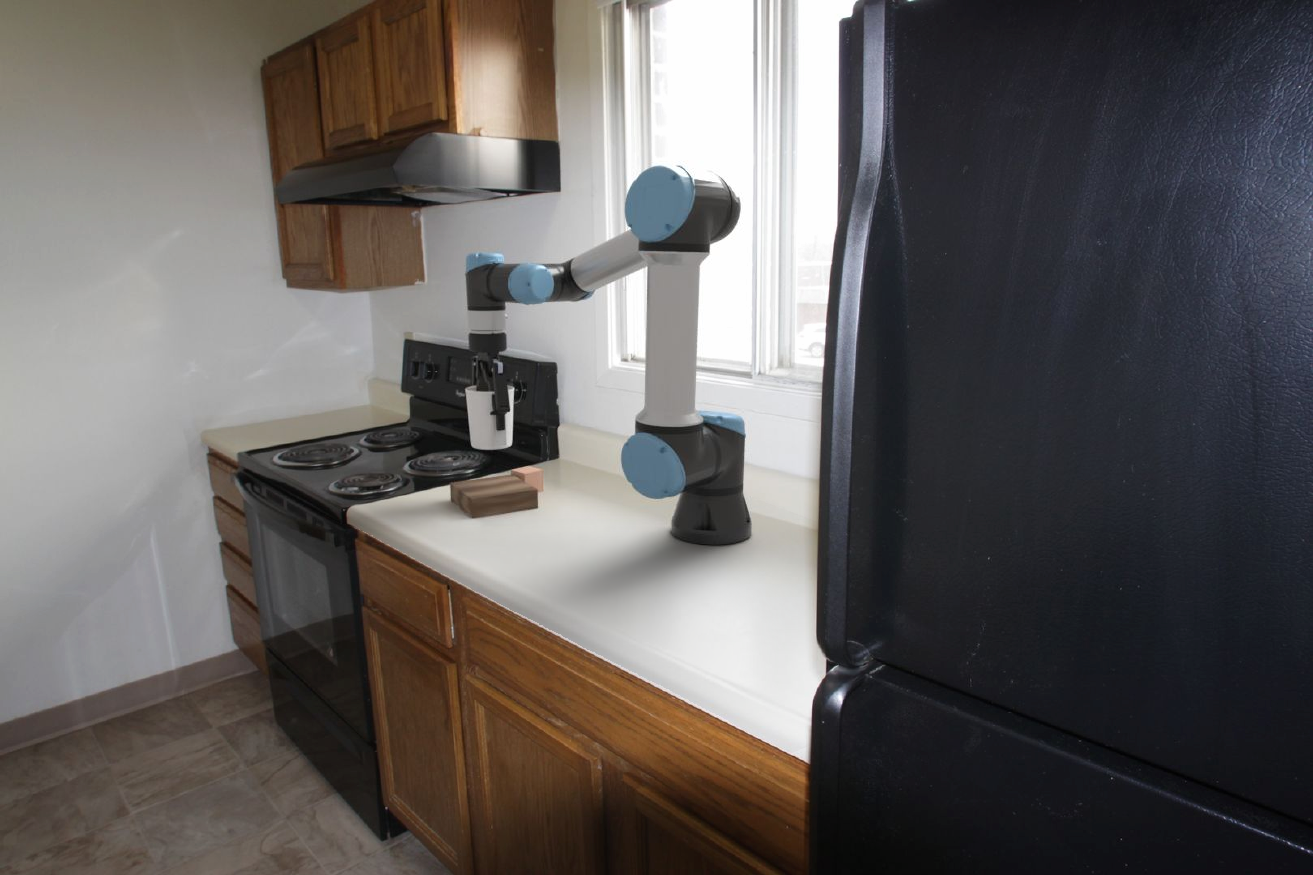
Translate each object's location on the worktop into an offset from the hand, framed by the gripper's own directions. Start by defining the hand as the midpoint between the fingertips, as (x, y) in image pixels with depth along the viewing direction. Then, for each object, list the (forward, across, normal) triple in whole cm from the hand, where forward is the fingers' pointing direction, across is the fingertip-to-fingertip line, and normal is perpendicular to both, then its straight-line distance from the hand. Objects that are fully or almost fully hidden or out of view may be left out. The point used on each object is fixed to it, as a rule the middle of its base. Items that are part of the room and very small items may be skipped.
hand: (491, 441), depth 169 cm
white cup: (+1, 0, 0) cm, 1 cm away
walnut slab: (+14, 0, 0) cm, 14 cm away
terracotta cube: (+14, +6, -10) cm, 18 cm away
